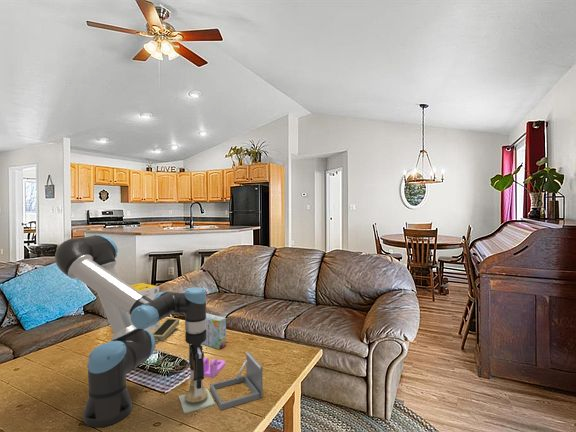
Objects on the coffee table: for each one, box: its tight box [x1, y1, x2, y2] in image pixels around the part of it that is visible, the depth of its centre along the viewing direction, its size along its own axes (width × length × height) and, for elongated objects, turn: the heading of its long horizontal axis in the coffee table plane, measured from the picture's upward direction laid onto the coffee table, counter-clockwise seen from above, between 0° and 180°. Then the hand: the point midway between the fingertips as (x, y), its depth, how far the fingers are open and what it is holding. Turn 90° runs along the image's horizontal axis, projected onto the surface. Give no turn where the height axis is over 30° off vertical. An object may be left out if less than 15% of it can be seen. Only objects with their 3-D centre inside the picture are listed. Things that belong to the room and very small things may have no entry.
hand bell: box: [184, 357, 208, 403], centre depth 123 cm, size 8×8×16 cm
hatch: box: [209, 350, 264, 411], centre depth 128 cm, size 16×15×12 cm
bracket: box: [203, 357, 226, 379], centre depth 147 cm, size 13×6×7 cm, turn 163°
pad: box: [178, 388, 216, 415], centre depth 123 cm, size 11×11×1 cm
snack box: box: [201, 312, 227, 351], centre depth 174 cm, size 21×6×15 cm, turn 58°
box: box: [151, 317, 180, 345], centre depth 184 cm, size 8×22×5 cm, turn 173°
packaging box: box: [129, 282, 161, 332], centre depth 192 cm, size 16×16×25 cm
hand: (196, 391), depth 123 cm, fingers closed on hand bell, 6 cm apart
